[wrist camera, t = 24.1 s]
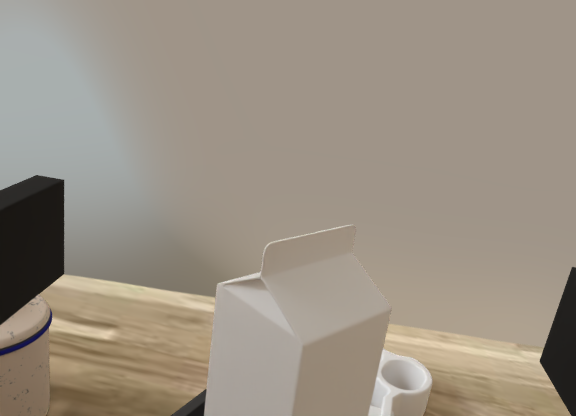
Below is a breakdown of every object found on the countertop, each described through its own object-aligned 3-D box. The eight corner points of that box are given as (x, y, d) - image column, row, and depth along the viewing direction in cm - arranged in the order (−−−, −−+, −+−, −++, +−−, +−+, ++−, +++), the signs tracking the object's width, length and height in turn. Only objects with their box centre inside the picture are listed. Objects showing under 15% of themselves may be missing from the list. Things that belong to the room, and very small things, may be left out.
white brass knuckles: (209, 419, 44) (259, 332, 57) (426, 482, 40) (424, 374, 54) (212, 386, 42) (263, 305, 56) (435, 448, 39) (431, 346, 53)
